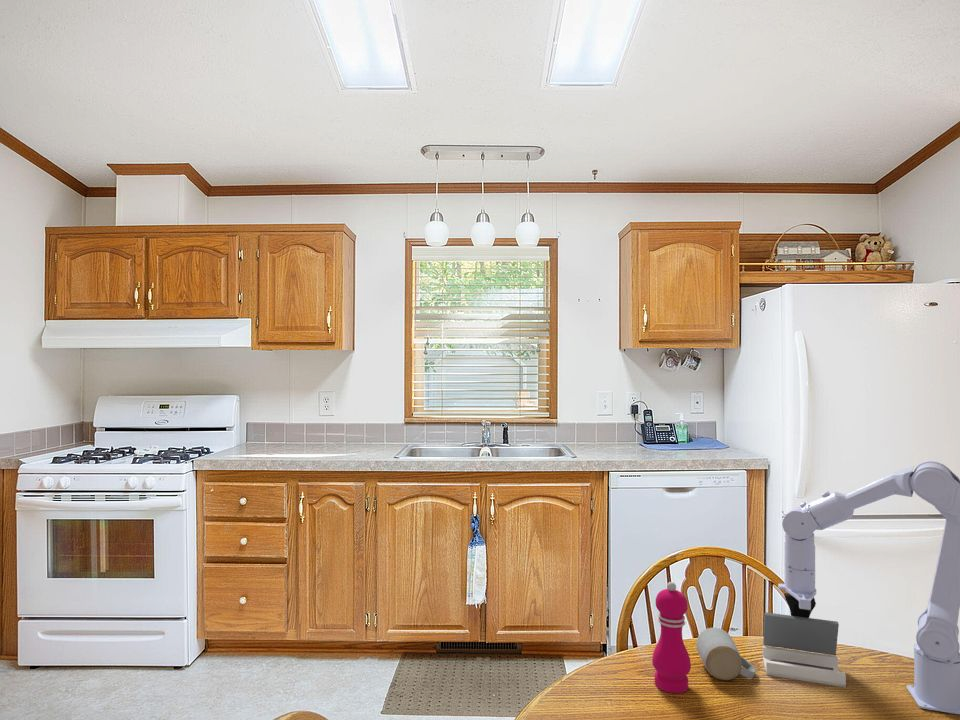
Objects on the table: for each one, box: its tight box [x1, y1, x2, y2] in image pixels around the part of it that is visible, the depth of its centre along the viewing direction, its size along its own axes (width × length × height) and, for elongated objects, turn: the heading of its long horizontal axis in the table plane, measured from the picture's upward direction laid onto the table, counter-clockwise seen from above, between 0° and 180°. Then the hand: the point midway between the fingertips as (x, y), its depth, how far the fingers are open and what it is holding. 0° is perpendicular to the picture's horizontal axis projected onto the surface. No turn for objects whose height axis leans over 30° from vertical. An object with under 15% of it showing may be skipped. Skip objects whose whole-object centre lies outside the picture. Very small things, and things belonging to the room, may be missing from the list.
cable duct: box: [762, 645, 847, 688], centre depth 124 cm, size 14×8×2 cm, turn 70°
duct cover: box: [762, 612, 840, 656], centre depth 127 cm, size 14×8×1 cm
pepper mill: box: [651, 581, 692, 694], centre depth 119 cm, size 7×7×20 cm
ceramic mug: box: [695, 627, 757, 681], centre depth 123 cm, size 11×8×8 cm
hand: (799, 631), depth 127 cm, fingers closed, pressing on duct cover
